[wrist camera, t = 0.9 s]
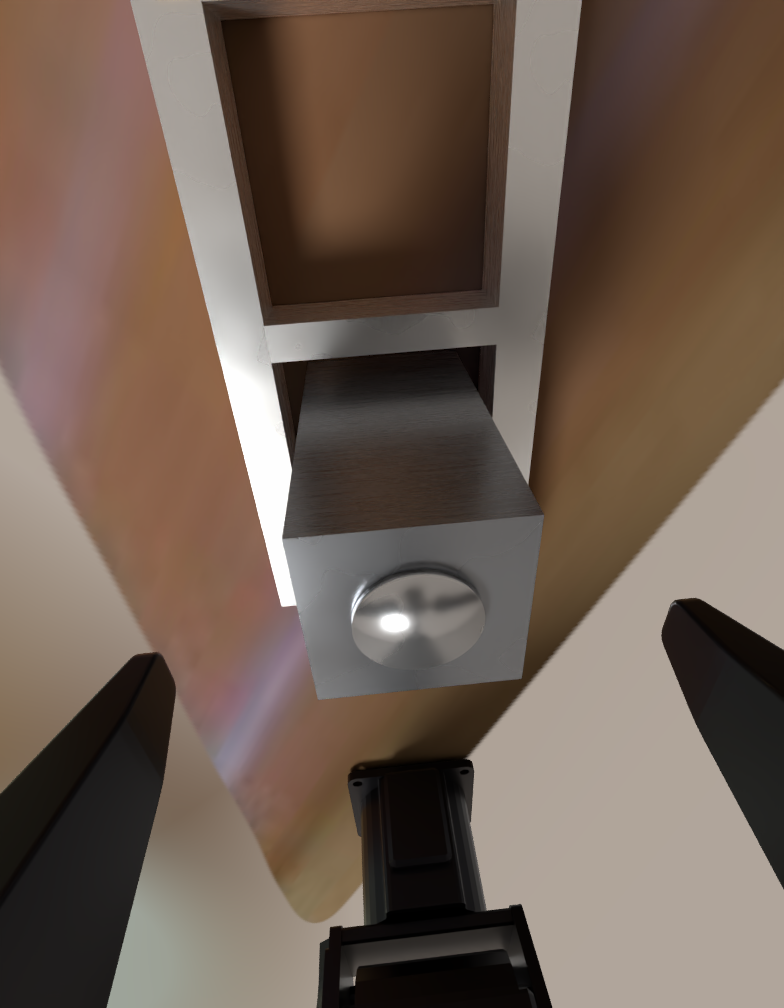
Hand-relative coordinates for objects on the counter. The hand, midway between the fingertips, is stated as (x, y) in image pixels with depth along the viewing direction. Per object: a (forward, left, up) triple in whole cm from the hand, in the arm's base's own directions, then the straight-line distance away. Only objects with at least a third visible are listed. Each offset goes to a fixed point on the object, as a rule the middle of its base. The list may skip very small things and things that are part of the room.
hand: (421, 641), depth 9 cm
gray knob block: (0, 0, -8) cm, 8 cm away
